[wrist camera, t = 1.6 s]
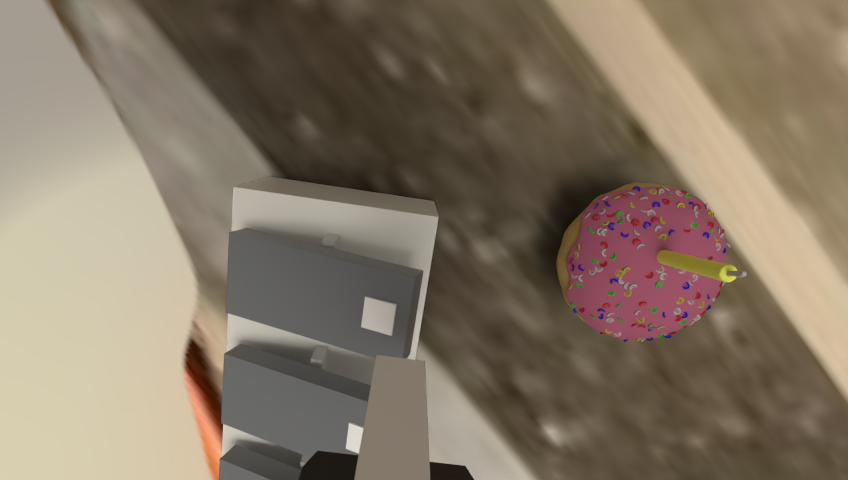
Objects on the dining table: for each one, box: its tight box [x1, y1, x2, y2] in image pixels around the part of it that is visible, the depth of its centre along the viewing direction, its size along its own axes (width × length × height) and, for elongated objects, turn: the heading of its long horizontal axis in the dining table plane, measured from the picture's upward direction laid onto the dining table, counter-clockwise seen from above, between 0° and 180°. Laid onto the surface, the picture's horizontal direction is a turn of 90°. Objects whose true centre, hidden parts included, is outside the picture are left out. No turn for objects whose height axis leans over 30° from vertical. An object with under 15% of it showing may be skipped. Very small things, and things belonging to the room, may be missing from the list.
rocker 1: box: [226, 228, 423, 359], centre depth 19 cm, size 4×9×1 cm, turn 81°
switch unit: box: [221, 177, 439, 470], centre depth 25 cm, size 20×10×6 cm, turn 171°
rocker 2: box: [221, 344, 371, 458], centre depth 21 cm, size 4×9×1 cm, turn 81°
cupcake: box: [556, 182, 747, 342], centre depth 21 cm, size 9×8×12 cm
